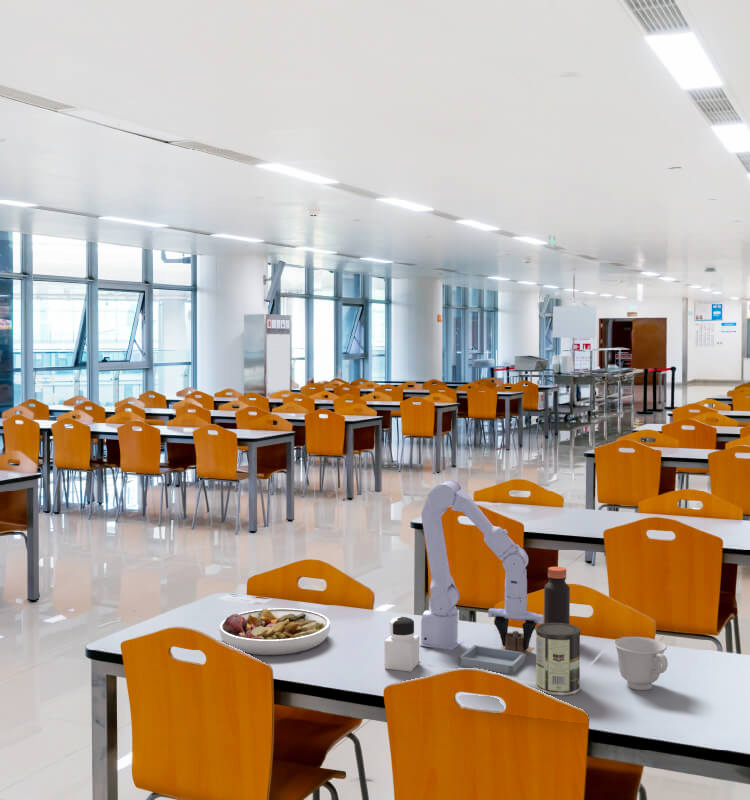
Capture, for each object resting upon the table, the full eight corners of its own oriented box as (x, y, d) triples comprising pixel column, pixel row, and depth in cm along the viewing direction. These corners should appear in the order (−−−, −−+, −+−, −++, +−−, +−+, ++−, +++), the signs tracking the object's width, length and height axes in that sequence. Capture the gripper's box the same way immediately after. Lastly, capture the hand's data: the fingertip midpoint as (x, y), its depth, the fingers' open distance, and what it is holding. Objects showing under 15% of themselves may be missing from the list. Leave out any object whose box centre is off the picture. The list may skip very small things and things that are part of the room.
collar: (502, 651, 238) (502, 636, 238) (509, 646, 243) (509, 631, 243) (521, 654, 236) (521, 639, 236) (528, 648, 241) (528, 634, 240)
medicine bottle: (419, 663, 231) (419, 616, 231) (411, 672, 225) (411, 624, 224) (392, 660, 234) (392, 613, 233) (384, 669, 227) (384, 621, 226)
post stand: (495, 654, 238) (495, 633, 238) (505, 645, 245) (506, 625, 245) (525, 659, 234) (525, 637, 234) (534, 650, 241) (535, 629, 241)
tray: (458, 667, 228) (458, 657, 228) (474, 654, 238) (474, 644, 238) (511, 676, 222) (512, 666, 222) (526, 662, 231) (526, 652, 231)
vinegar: (574, 643, 247) (574, 570, 246) (552, 646, 244) (553, 572, 243) (560, 636, 253) (560, 564, 252) (539, 639, 251) (539, 567, 250)
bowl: (314, 621, 269) (314, 594, 269) (343, 652, 241) (343, 623, 240) (212, 631, 260) (212, 603, 259) (229, 664, 231) (229, 634, 231)
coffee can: (566, 678, 220) (566, 620, 220) (588, 693, 211) (588, 633, 210) (527, 682, 217) (528, 624, 217) (547, 698, 208) (548, 637, 207)
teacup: (644, 703, 204) (644, 659, 204) (602, 681, 218) (603, 640, 218) (686, 694, 209) (686, 651, 209) (642, 674, 223) (643, 633, 222)
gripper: (547, 595, 239) (546, 646, 240) (494, 589, 246) (494, 638, 246) (539, 601, 233) (538, 654, 233) (485, 595, 239) (485, 646, 240)
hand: (515, 646), depth 239 cm, fingers closed on collar, 5 cm apart
